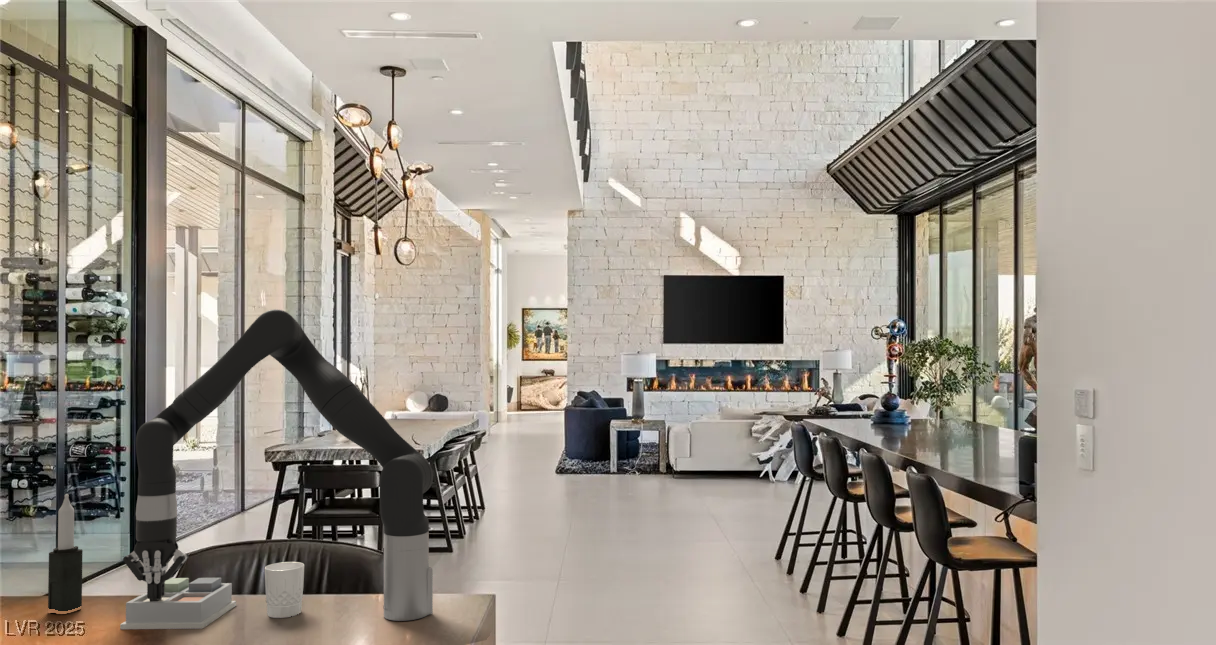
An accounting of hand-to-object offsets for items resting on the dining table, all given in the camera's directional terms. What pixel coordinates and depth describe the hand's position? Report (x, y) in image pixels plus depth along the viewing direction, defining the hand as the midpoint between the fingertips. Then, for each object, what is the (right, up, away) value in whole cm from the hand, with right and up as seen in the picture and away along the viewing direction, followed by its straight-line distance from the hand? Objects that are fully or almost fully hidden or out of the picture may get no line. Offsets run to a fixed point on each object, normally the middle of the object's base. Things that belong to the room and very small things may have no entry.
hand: (155, 600), depth 183 cm
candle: (-24, -5, +8) cm, 26 cm away
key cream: (0, -3, 0) cm, 3 cm away
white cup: (+25, -5, +5) cm, 26 cm away
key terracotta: (+7, -3, 0) cm, 8 cm away
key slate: (+7, -1, +7) cm, 10 cm away
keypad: (+4, -4, +3) cm, 7 cm away
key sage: (0, -1, +7) cm, 7 cm away
